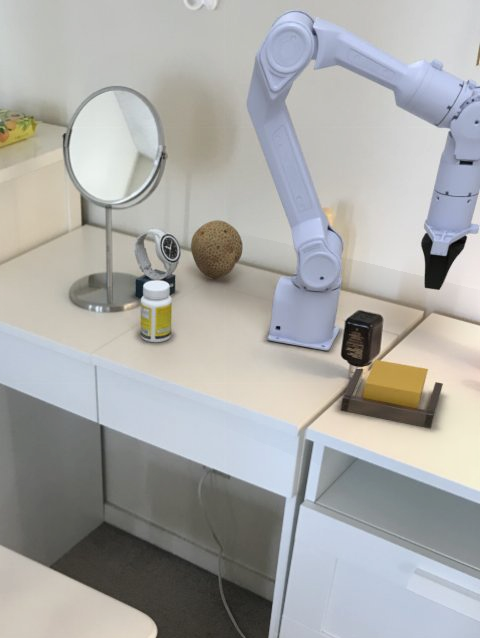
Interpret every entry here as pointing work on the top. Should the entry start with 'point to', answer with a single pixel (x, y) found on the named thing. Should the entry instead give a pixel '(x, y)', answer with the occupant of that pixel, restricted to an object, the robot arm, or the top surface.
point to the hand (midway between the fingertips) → (432, 287)
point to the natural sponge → (216, 248)
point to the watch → (167, 255)
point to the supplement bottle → (156, 311)
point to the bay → (389, 405)
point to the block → (395, 383)
